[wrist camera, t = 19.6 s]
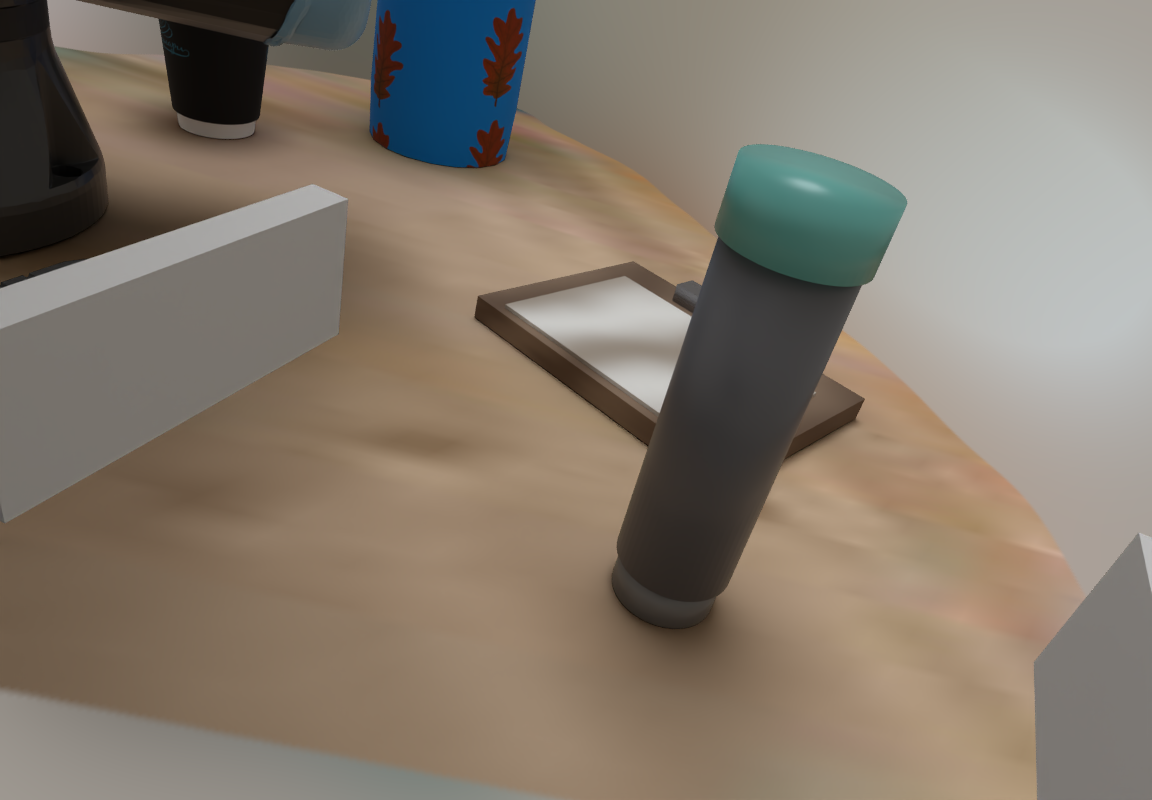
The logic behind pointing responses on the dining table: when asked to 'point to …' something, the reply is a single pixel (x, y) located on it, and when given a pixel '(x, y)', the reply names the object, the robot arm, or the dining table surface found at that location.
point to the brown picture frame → (626, 344)
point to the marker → (747, 370)
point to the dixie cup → (214, 79)
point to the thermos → (448, 78)
